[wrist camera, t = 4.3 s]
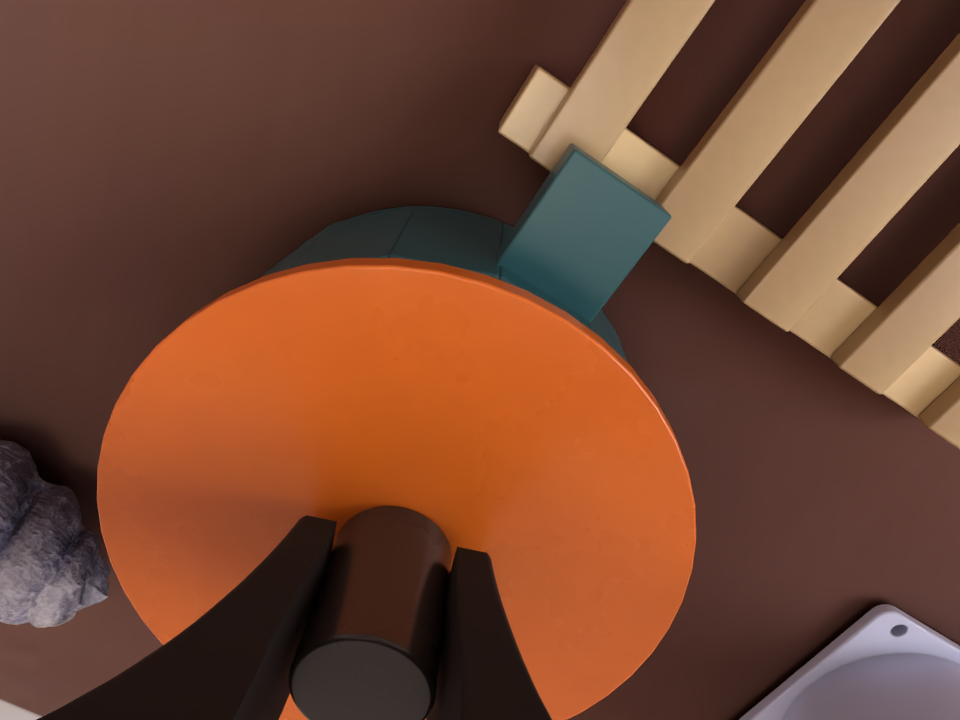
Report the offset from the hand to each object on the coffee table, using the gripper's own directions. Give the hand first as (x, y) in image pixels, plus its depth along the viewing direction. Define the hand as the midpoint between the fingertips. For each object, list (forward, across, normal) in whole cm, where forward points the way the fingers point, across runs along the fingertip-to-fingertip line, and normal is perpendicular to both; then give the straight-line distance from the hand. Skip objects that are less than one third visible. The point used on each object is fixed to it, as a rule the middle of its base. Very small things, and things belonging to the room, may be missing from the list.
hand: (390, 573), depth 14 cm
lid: (+1, 0, 0) cm, 1 cm away
